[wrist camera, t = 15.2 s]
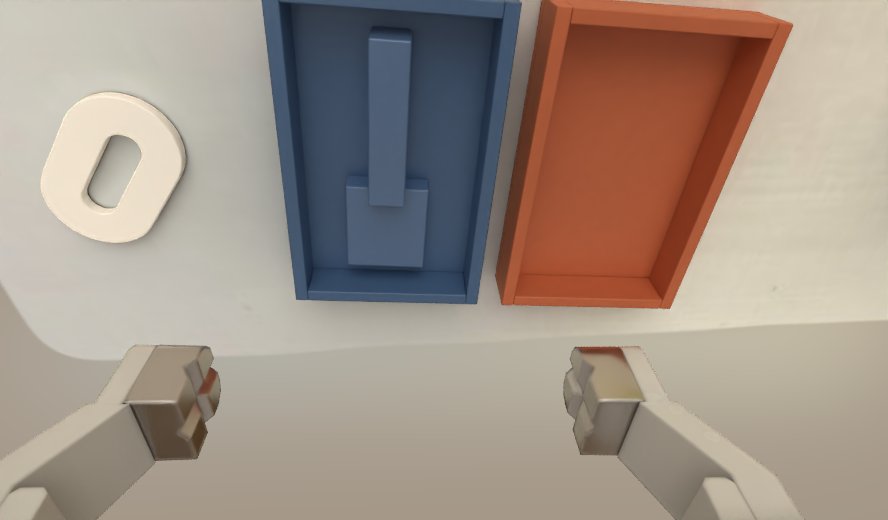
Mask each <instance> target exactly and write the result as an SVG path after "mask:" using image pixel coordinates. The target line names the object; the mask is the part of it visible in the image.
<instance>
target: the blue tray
mask: <svg viewBox="0 0 888 520" xmlns="http://www.w3.org/2000/svg"><path fill="white" fill-rule="evenodd" d="M521 5H522V3H521V2H520V1H519V0H262V7H263V16H264V25H265V33H266V42H267V51H268V59H269V68H270V77H271V85H272V94H273V103H274V111H275V120H276V129H277V137H278V146H279V155H280V163H281V172H282V181H283V189H284V198H285V207H286V215H287V224H288V233H289V241H290V250H291V259H292V267H293V276H294V285H295V294H296V300H308V299H309V300H325V301H367V302H408V303H450V304H465V303H466V304H477V300H478V293H479V286H480V279H481V273H482V266H483V259H484V253H485V246H486V239H487V233H488V226H489V219H490V212H491V206H492V199H493V192H494V186H495V179H496V172H497V166H498V159H499V152H500V145H501V139H502V132H503V125H504V119H505V112H506V105H507V99H508V92H509V85H510V78H511V72H512V65H513V58H514V52H515V45H516V38H517V32H518V25H519V18H520V12H521ZM373 26H378V27H390V28H403V29H410V30H411V31H412V49H411V71H410V94H409V116H408V139H407V161H406V179H425V180H428V187H429V196H428V209H427V222H426V236H425V249H424V263H423V267H400V266H371V265H349V264H348V259H347V226H346V193H345V187H346V182H347V178H348V176H367V177H368V38H369V35H370V31H371V28H372V27H373Z"/></svg>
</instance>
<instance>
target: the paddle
mask: <svg viewBox="0 0 888 520" xmlns="http://www.w3.org/2000/svg"><path fill="white" fill-rule="evenodd" d="M411 49H412V31H411V30H410V29H403V28H390V27H378V26H373V27H372V28H371V31H370V35H369V38H368V177H367V176H348V178H347V182H346V187H345V193H346V226H347V259H348V264H349V265H371V266H400V267H423V263H424V249H425V236H426V222H427V209H428V196H429V187H428V180H425V179H406V161H407V139H408V116H409V94H410V71H411Z"/></svg>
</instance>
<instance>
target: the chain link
mask: <svg viewBox="0 0 888 520" xmlns="http://www.w3.org/2000/svg"><path fill="white" fill-rule="evenodd" d="M113 135H123V136H126V137H128V138H130V139H132V140H133V141H135V142H136V144H137V145H138V146H139V148H140V150H141V154H142V157H141V160H140V162H139V164H138V166H137V168H136V170H135V172H134V174H133V176H132V178H131V180H130V182H129V184H128V186H127V188H126V190H125V192H124V194H123V196H122V198H121V200H120V202H119V204H118V206H117V207H115V208H103V207H101V206H99V205H97V204H95V203H94V202H93V201H92V200H91V199H90V197H89V196H88V193H87V188H88V185H89V183H90V181H91V179H92V176H93V174H94V172H95V170H96V168H97V166H98V163H99V161H100V159H101V157H102V155H103V153H104V150H105V148H106V146H107V144H108V142H109V140H110V137H111V136H113ZM185 163H186V154H185V148H184V144H183V142H182V140H181V137H180V135H179V133H178V132H177V130H176V128H175V127H174V126H173V124H172V123H171V122H170V121H169V120H168V119H167V118H166V117H165V116H164V115H163V114H162V113H161V112H160V111H158V110H157V109H156V108H154V107H153V106H151V105H150V104H148V103H146V102H145V101H143V100H140V99H138V98H136V97H133V96H130V95H126V94H122V93H115V92H103V93H96V94H92V95H90V96H87V97H85V98H83V99H82V100H80V101H79V102H77V103H76V104H75V105H73V106H72V107H71V108H70V109H69V111H68V112H67V113H66V115H65V117H64V119H63V121H62V124H61V126H60V129H59V131H58V134H57V136H56V139H55V141H54V144H53V146H52V149H51V151H50V154H49V156H48V159H47V161H46V164H45V166H44V169H43V171H42V174H41V181H40V185H41V191H42V195H43V197H44V200H45V202H46V204H47V205H48V207H49V208H50V210H51V211H52V212H53V214H54V215H55V216H56V217H57V218H58V219H59V220H60V221H61V222H63V223H64V224H65V225H66V226H68V227H69V228H71V229H72V230H74V231H76V232H77V233H79V234H82V235H84V236H86V237H88V238H91V239H94V240H98V241H102V242H109V243H123V242H130V241H133V240H136V239H138V238H140V237H142V236H143V235H145V234H146V233H147V232H148V231H149V230H150V229H151V227H152V226H153V225H154V223H155V222H156V220H157V218H158V217H159V215H160V213H161V211H162V210H163V208H164V206H165V204H166V202H167V201H168V199H169V197H170V195H171V194H172V192H173V190H174V188H175V187H176V185H177V183H178V181H179V179H180V178H181V176H182V174H183V171H184V168H185Z"/></svg>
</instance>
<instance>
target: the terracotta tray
mask: <svg viewBox="0 0 888 520" xmlns="http://www.w3.org/2000/svg"><path fill="white" fill-rule="evenodd" d="M792 27H793V24H792V23H789V22H786V21H783V20H780V19H777V18H774V17H771V16H768V15H765V14H762V13H759V12H752V11H739V10H727V9H714V8H702V7H689V6H677V5H664V4H652V3H639V2H627V1H614V0H542V4H541V10H540V16H539V22H538V27H537V33H536V39H535V45H534V51H533V57H532V63H531V69H530V75H529V80H528V86H527V92H526V98H525V104H524V110H523V116H522V122H521V128H520V134H519V139H518V145H517V151H516V157H515V163H514V169H513V175H512V181H511V187H510V193H509V198H508V204H507V210H506V216H505V222H504V228H503V234H502V240H501V246H500V252H499V257H498V263H497V269H496V275H495V277H496V281H497V285H498V290H499V294H500V299H501V303H502V305H535V306H577V307H618V308H661V309H670V307H671V305H672V303H673V300H674V298H675V296H676V293H677V291H678V289H679V286H680V284H681V282H682V280H683V277H684V275H685V273H686V270H687V268H688V266H689V264H690V261H691V259H692V257H693V254H694V252H695V250H696V247H697V245H698V243H699V241H700V238H701V236H702V234H703V231H704V229H705V227H706V225H707V222H708V220H709V218H710V215H711V213H712V211H713V208H714V206H715V204H716V202H717V199H718V197H719V195H720V192H721V190H722V188H723V186H724V183H725V181H726V179H727V176H728V174H729V172H730V169H731V167H732V165H733V163H734V160H735V158H736V156H737V153H738V151H739V149H740V147H741V144H742V142H743V140H744V137H745V135H746V133H747V130H748V128H749V126H750V124H751V121H752V119H753V117H754V114H755V112H756V110H757V108H758V105H759V103H760V101H761V98H762V96H763V94H764V91H765V89H766V87H767V85H768V82H769V80H770V78H771V75H772V73H773V71H774V69H775V66H776V64H777V62H778V59H779V57H780V55H781V52H782V50H783V48H784V46H785V43H786V41H787V39H788V36H789V34H790V32H791V30H792Z"/></svg>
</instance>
